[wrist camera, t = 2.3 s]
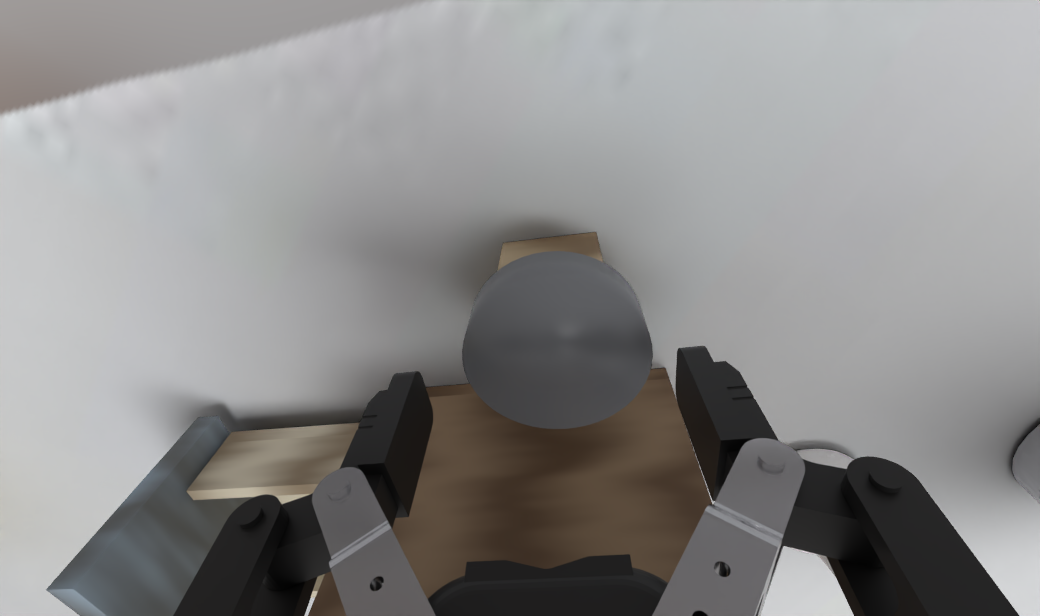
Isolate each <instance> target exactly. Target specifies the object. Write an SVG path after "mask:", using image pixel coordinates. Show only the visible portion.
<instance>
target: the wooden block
mask: <svg viewBox="0 0 1040 616" xmlns="http://www.w3.org/2000/svg"><path fill="white" fill-rule="evenodd" d="M549 251H564V252H573V253H579V254H583V255H586V256H589V257H592V258H595V259H597V260H599V261H601V262H603V259H602V255H601V251H600V247H599V242H598V238H597V234H596V232H592V233H583V234H575V235H566V236H557V237H549V238H540V239H532V240H523V241H515V242H506V243H503V245H502V250H501V255H500V260H499V265H498V270H499V269H501V268H502V267H504V266H505V265H507V264H509V263H510V262H512V261H515V260H517V259H519V258H521V257H524V256H528V255H531V254H535V253H541V252H549ZM498 270H497V271H498Z"/></svg>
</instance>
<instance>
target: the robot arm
mask: <svg viewBox="0 0 1040 616" xmlns="http://www.w3.org/2000/svg"><path fill="white" fill-rule="evenodd" d="M676 397H677V402H678V406H679V409H680V412H681V414H682V417H683V420H684V423H685V425H686V428H687V431H688V434H689V437H690V439H691V442H692V445H693V448H694V450H695V453H696V456H697V459H698V461H699V464H700V467H701V470H702V472H703V475H704V478H705V481H706V483H707V486H708V489H709V492H710V494H711V497H712V500H713V501H715V502H714V504H713V505H712V504H709V505H708V506H707V508H706V509H705V511H704V513H703V515H702V517H701V519H700V521H699V523H698V525H697V527H696V529H695V531H694V533H693V535H692V537H691V539H690V541H689V543H688V545H687V547H686V549H685V551H684V553H683V555H682V557H681V559H680V561H679V563H678V565H677V567H676V569H675V571H674V573H673V575H672V577H671V579H670V581H669V583H668V582H666V581H665V580H663V579H662V578H660V577H658V576H656V575H654V574H652V573H649V572H646V571H644V570H641V569H637V568H633V567H632V563H631V557H630V554H624V555H603V556H588V557H584V558H581V559H578V560H575V561H572V562H569V563H566V564H563V565H559V566H556V567H553V568H549V569H543V568H538V567H534V566H530V565H525V564H521V563H517V562H512V561H508V560H495V561H473V562H467V563H466V570H465V576H462V577H459V578H457V579H455V580H453V581H451V582H449V583H447V584H446V585H444V586H442V587H441V588H440V589H438V590H437V591H436V592H435V593H433V594H432V595H431V596H430V597H429V598H428V599H427V597H426V595H425V594H424V592H423V590H422V588H421V586H420V584H419V582H418V580H417V578H416V576H415V574H414V572H413V570H412V568H411V566H410V564H409V562H408V560H407V558H406V556H405V554H404V552H403V550H402V548H401V546H400V544H399V542H398V540H397V538H396V536H395V534H394V532H393V530H392V528H393V524H394V521H395V518H403V517H409V514H410V510H411V507H412V503H413V499H414V495H415V491H416V487H417V483H418V480H419V476H420V472H421V468H422V464H423V460H424V456H425V453H426V449H427V445H428V441H429V437H430V433H431V429H432V425H433V409H432V405H431V402H430V399H429V396H428V393H427V390H426V387H425V384H424V381H423V378H422V375H421V373H420V372H418V371H417V372H406V373H396V374H394V376H393V378H392V380H391V383H390V385H389V388H388V390H384V391H379V392H378V393H377V394H376V396H375V397H374V398H373V399H372V400H371V401H370V402H369V403H368V405H367V408H366V410H365V412H364V414H363V419H361V421H360V423H359V426H358V430H356V433H355V435H354V437H353V439H352V442H351V444H350V446H349V448H348V451H347V453H346V455H345V458H344V460H343V462H342V464H341V467H340V469H338V470H336V471H334V472H332V473H330V474H329V475H327V476H326V477H325V478H323V479H322V480H321V481H320V483H319V484H318V485H317V487H316V488H315V490H314V492H313V493H312V494H310V495H307V496H304V497H301V498H298V499H296V500H293V501H290V502H287V503H284V504H281V502H280V501H279V499H278V498H277V497H276V496H273V495H269V494H265V495H259V496H256V497H254V498H251V499H249V500H248V501H246V502H244V503H243V504H241V505H240V506H239V507H238V508H237V509H235V510H234V511H233V512H232V514H231V515H230V516H229V517H228V519H227V521H226V522H225V524H224V526H223V528H222V529H221V531H220V533H219V535H218V537H217V538H216V540H215V542H214V544H213V545H212V547H211V549H210V551H209V553H208V554H207V556H206V558H205V560H204V561H203V563H202V565H201V567H200V569H199V570H198V572H197V574H196V576H195V577H194V579H193V581H192V583H191V585H190V586H189V588H188V590H187V592H186V594H185V595H184V597H183V599H182V601H181V602H180V604H179V606H178V608H177V610H176V611H175V613H174V615H173V616H304V615H305V612H306V609H307V606H308V603H309V600H310V598H311V595H312V592H313V589H314V586H315V583H316V580H317V577H318V576H321V575H323V574H326V573H328V572H332V575H333V578H334V581H335V584H336V587H337V590H338V593H339V595H340V598H341V601H342V604H343V607H344V610H345V613H346V616H760V615H761V612H762V609H763V606H764V603H765V600H766V597H767V594H768V591H769V588H770V585H771V582H772V579H773V576H774V573H775V570H776V567H777V564H778V561H779V558H780V555H781V552H782V549H783V546H787V547H791V548H795V549H799V550H803V551H807V552H811V553H815V554H819V555H823V556H826V557H827V559H828V561H829V563H830V565H831V567H832V570H833V572H834V574H835V576H836V578H837V580H838V582H839V585H840V587H841V589H842V591H843V593H844V595H845V597H846V599H847V602H848V604H849V606H850V608H851V610H852V612H853V614H854V616H1019V615H1018V613H1017V612H1016V611H1015V609H1014V608H1013V607H1012V605H1011V604H1010V603H1009V601H1008V600H1007V599H1006V597H1005V596H1004V595H1003V593H1002V592H1001V591H1000V589H999V588H998V586H997V585H996V584H995V582H994V581H993V580H992V578H991V577H990V576H989V574H988V573H987V572H986V570H985V569H984V568H983V566H982V565H981V564H980V562H979V561H978V560H977V558H976V557H975V556H974V554H973V553H972V551H971V550H970V549H969V547H968V546H967V545H966V543H965V542H964V541H963V539H962V538H961V537H960V535H959V534H958V533H957V531H956V530H955V529H954V527H953V526H952V525H951V523H950V522H949V521H948V519H947V518H946V517H945V515H944V514H943V512H942V511H941V510H940V508H939V507H938V506H937V504H936V503H935V502H934V500H933V499H932V498H931V496H930V495H929V494H928V492H927V491H926V490H925V488H924V487H923V486H922V484H921V483H920V482H919V480H918V479H917V478H916V477H915V476H914V475H913V474H912V473H911V472H909V471H908V470H906V469H905V468H903V467H902V466H900V465H898V464H896V463H894V462H891V461H889V460H886V459H882V458H877V457H860V458H857V459H855V460H853V461H851V462H850V463H849V465H848V467H847V469H844V468H839V467H833V466H828V465H822V464H817V463H813V462H810V461H807V460H804V459H802V458H801V456H800V455H799V454H798V453H797V452H796V451H795V450H794V449H793V448H791V447H790V446H788V445H786V444H785V443H782V442H780V441H779V440H778V439H777V437H776V435H775V434H774V432H773V430H772V428H771V426H770V425H769V423H768V421H767V419H766V418H765V416H764V414H763V412H762V411H761V409H760V407H759V405H758V404H757V402H756V400H755V399H754V398H753V395H752V393H751V391H750V390H749V388H747V384H746V383H745V381H744V379H743V377H742V376H741V374H740V372H739V371H737V370H736V369H735V368H734V367H732V366H731V365H730V364H728V363H727V362H726V361H722V362H713V360H712V358H711V356H710V354H709V352H708V350H707V348H706V347H705V346H697V347H686V348H679V349H678V351H677V367H676ZM1012 471H1013V474H1014V477H1015V479H1016V480H1017V481H1018V482H1019V483H1020V484H1021V485H1022V486H1023V487H1024V488H1025V489H1026V490H1027V491H1028V492H1029V493H1030V494H1031V495H1032V496H1033V497H1034V498H1035V499H1036V500H1037V501H1038V502H1039V503H1040V424H1039V425H1038V426H1037V427H1036V428H1035V429H1034V430H1033V431H1032V432H1031V433H1029V434H1028V435H1027V437H1026V438H1025V439H1024V441H1023V442H1022V443H1021V444H1020V446H1019V447H1018V449H1017V451H1016V453H1015V456H1014V458H1013V465H1012Z"/></svg>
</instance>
